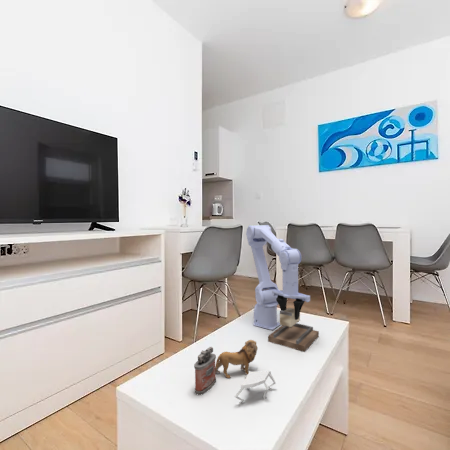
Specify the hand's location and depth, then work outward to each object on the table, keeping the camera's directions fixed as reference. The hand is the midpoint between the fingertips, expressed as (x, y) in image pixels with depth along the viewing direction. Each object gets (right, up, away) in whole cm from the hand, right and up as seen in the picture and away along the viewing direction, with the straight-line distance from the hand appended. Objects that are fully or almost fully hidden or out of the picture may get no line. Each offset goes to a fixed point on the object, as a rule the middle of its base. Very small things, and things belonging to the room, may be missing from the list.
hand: (290, 317), depth 103 cm
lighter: (-30, -10, -27) cm, 42 cm away
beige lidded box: (0, -2, 0) cm, 2 cm away
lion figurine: (-21, -10, -20) cm, 31 cm away
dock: (+2, -9, +2) cm, 9 cm away
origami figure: (-17, -10, -31) cm, 37 cm away
